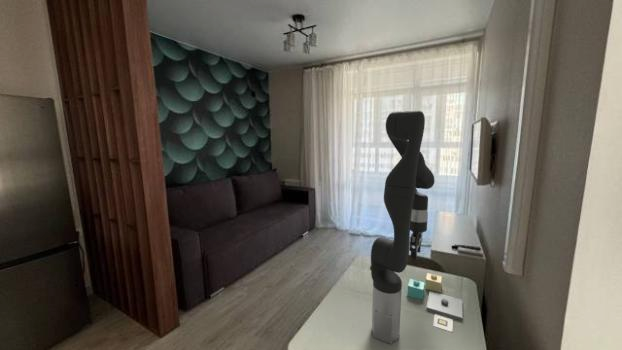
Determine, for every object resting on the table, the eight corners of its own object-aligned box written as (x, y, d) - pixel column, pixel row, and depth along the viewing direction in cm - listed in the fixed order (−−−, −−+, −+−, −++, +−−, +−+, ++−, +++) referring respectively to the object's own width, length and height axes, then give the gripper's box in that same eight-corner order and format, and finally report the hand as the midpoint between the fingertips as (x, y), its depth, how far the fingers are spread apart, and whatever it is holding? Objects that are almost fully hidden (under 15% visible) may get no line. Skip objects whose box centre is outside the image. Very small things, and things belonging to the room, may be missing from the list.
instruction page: (452, 332, 87) (452, 331, 87) (433, 326, 90) (433, 325, 90) (452, 319, 93) (452, 319, 93) (434, 314, 96) (434, 313, 96)
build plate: (462, 320, 92) (462, 315, 92) (426, 310, 98) (426, 304, 98) (462, 302, 102) (462, 297, 102) (429, 293, 108) (429, 288, 108)
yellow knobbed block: (440, 292, 109) (441, 280, 108) (425, 288, 112) (425, 277, 111) (441, 285, 114) (442, 274, 113) (426, 281, 117) (427, 270, 116)
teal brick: (422, 299, 104) (423, 287, 103) (407, 295, 107) (408, 283, 106) (424, 292, 109) (425, 280, 108) (409, 288, 112) (410, 276, 111)
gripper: (424, 225, 97) (422, 264, 99) (430, 215, 109) (427, 251, 111) (404, 221, 101) (402, 260, 103) (411, 213, 113) (409, 247, 115)
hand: (415, 255), depth 107 cm, fingers open, 8 cm apart
